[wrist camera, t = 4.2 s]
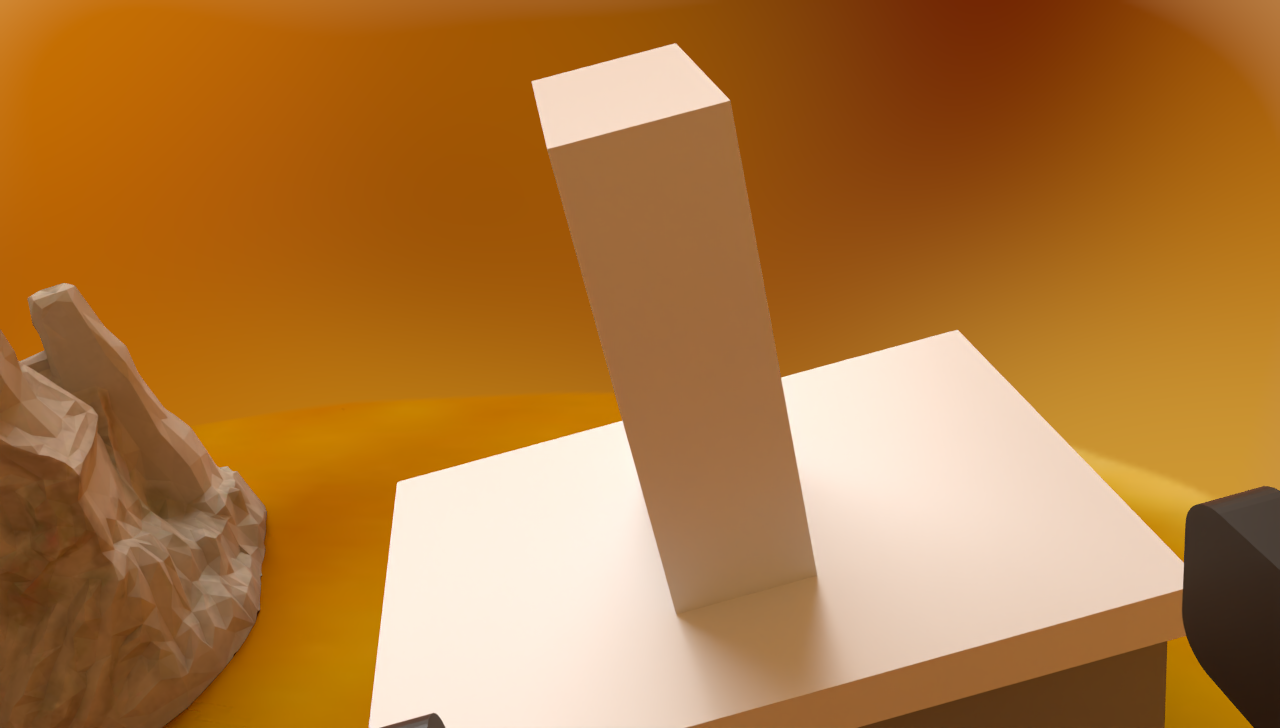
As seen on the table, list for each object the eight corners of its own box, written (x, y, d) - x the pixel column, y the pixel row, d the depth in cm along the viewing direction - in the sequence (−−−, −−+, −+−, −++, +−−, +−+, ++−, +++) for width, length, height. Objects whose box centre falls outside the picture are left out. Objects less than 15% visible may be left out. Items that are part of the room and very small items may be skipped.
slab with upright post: (1197, 691, 20) (1233, 28, 14) (409, 912, 20) (91, 333, 14) (964, 414, 30) (924, -52, 23) (430, 560, 29) (248, 126, 23)
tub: (1159, 852, 23) (1167, 622, 20) (508, 1037, 23) (403, 836, 19) (969, 569, 32) (952, 377, 28) (498, 699, 31) (425, 521, 28)
